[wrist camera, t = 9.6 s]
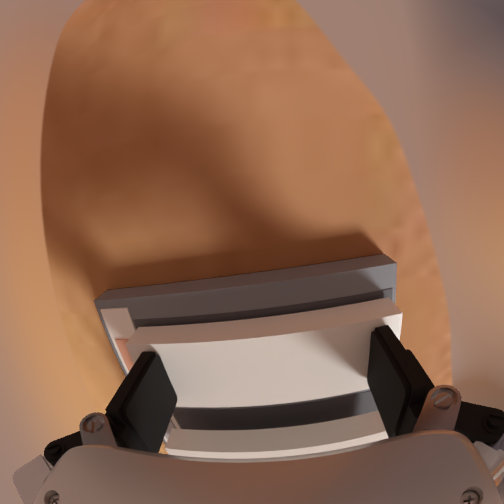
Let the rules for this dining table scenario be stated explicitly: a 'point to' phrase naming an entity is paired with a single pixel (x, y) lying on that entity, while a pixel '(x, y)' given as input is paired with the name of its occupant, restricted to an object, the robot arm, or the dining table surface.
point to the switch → (269, 355)
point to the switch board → (248, 307)
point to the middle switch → (277, 439)
